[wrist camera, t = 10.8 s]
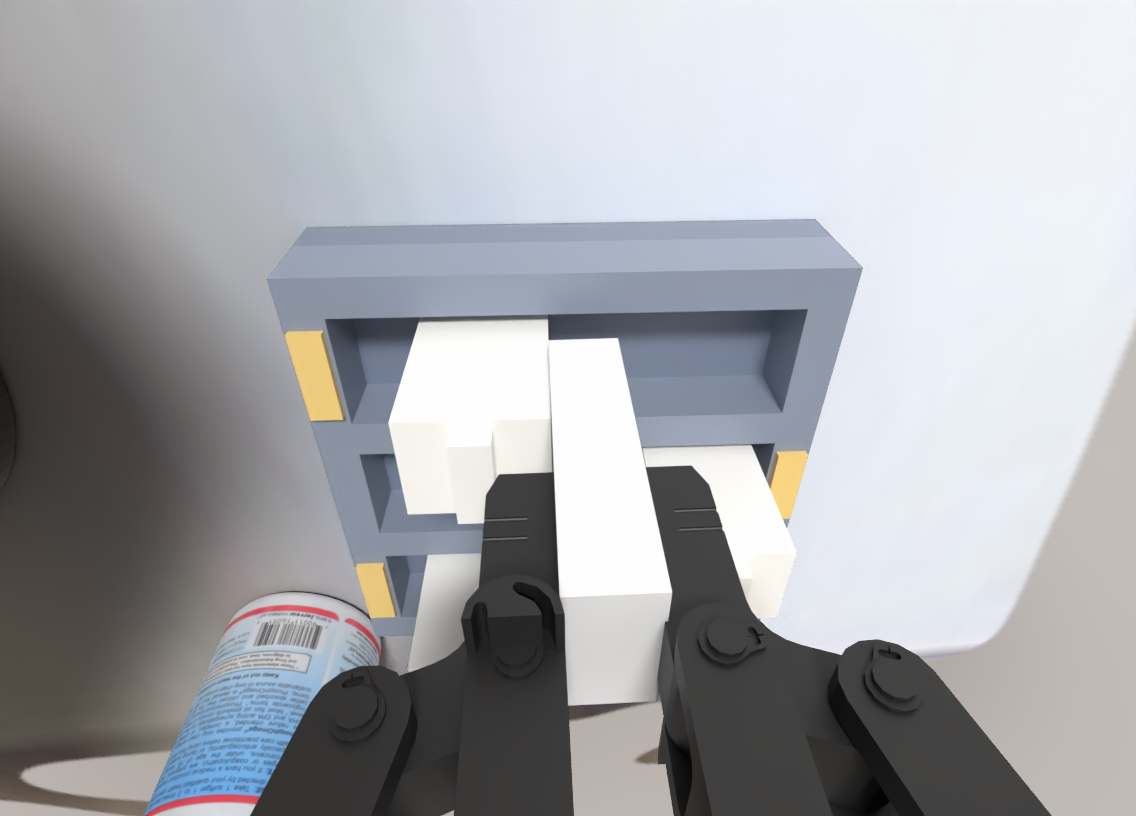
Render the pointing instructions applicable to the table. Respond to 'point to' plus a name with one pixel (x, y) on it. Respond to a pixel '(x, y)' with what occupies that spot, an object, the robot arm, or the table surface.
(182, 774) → the pill bottle
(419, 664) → the tab
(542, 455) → the tab
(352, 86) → the table surface
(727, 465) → the tab
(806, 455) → the switch bank
